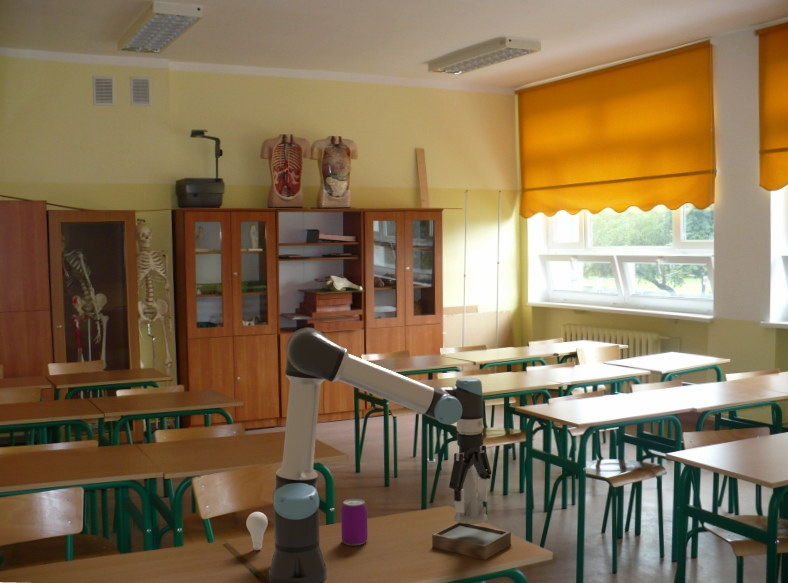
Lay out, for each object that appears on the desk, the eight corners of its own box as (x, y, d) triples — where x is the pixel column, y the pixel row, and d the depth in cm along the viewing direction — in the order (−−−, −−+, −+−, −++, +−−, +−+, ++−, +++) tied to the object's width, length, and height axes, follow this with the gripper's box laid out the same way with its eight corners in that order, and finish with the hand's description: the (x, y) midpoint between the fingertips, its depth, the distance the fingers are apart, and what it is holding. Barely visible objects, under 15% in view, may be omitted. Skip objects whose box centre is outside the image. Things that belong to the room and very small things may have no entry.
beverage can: (342, 547, 229) (341, 506, 229) (341, 538, 237) (340, 498, 237) (368, 545, 230) (367, 505, 230) (366, 537, 238) (366, 497, 237)
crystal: (458, 527, 221) (457, 474, 220) (450, 512, 234) (449, 462, 234) (492, 525, 222) (491, 472, 221) (483, 511, 235) (482, 461, 235)
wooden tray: (432, 546, 228) (432, 534, 228) (459, 532, 240) (459, 520, 240) (484, 559, 218) (484, 546, 217) (510, 544, 229) (510, 531, 229)
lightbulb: (242, 551, 227) (241, 513, 227) (255, 544, 232) (254, 507, 232) (259, 555, 224) (258, 516, 224) (272, 548, 230) (271, 510, 229)
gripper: (458, 441, 216) (459, 519, 217) (502, 426, 235) (503, 497, 236) (435, 438, 220) (437, 514, 221) (480, 423, 240) (481, 493, 240)
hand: (471, 506), depth 228 cm, fingers closed on crystal, 12 cm apart
